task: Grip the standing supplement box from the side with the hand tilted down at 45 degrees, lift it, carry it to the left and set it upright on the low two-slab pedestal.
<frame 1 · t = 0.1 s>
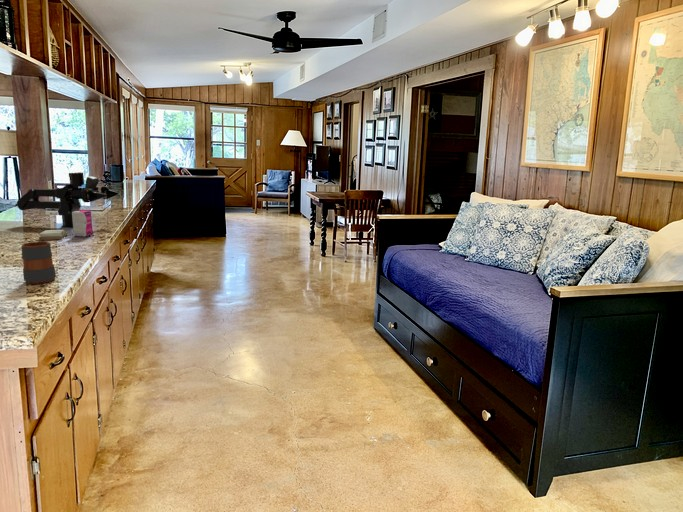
hand: (112, 194, 255), 17 cm above the counter, tool horizontal, fingers open, 9 cm apart
pedestal: (53, 238, 232), on the counter
supplement box: (83, 236, 237), on the counter
banded dark cylinder: (41, 280, 163), on the counter
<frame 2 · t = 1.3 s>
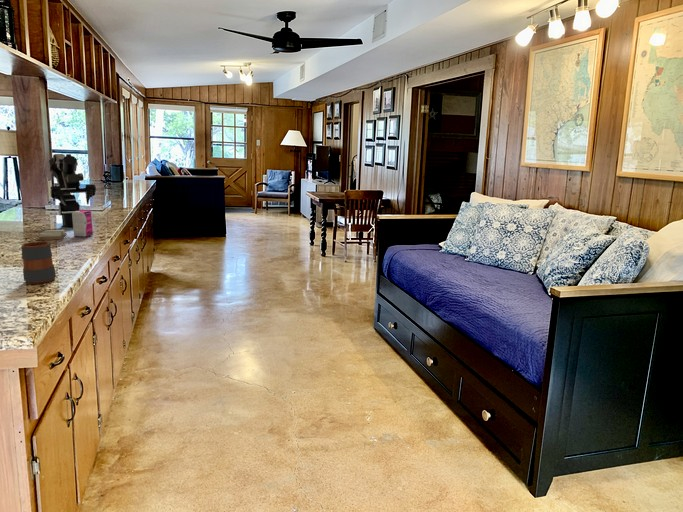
hand: (77, 204, 240), 13 cm above the counter, tool tilted 45°, fingers open, 9 cm apart
nothing on the counter moved.
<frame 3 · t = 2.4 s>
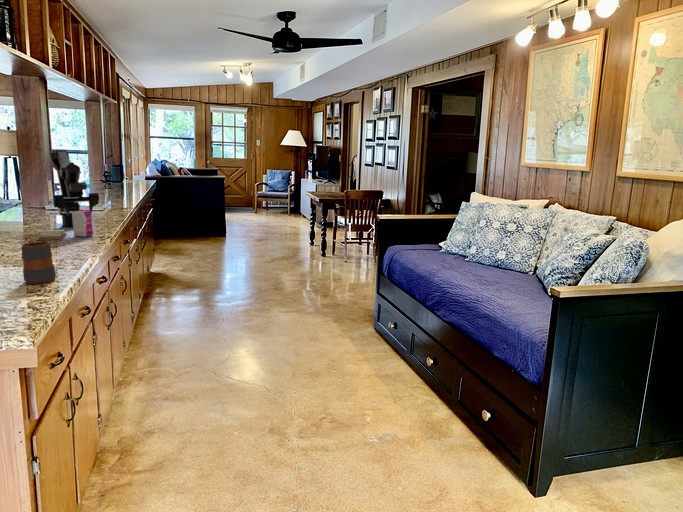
hand: (80, 214, 237), 10 cm above the counter, tool tilted 45°, fingers open, 9 cm apart
nothing on the counter moved.
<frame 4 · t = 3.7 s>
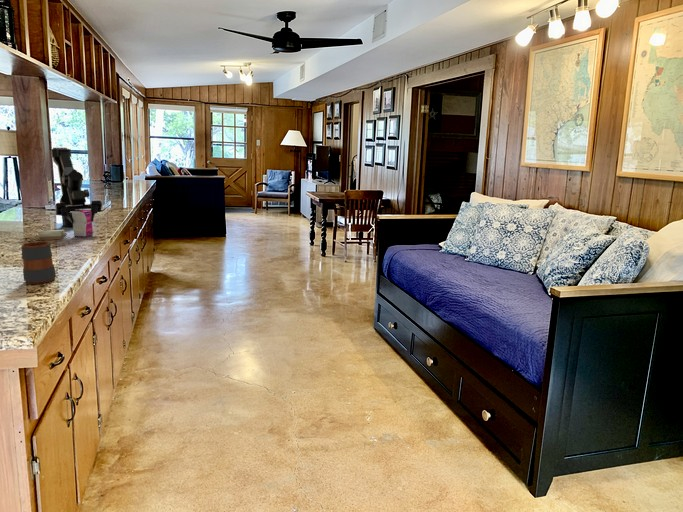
hand: (82, 222, 234), 7 cm above the counter, tool tilted 45°, fingers closed on supplement box, 8 cm apart
supplement box: (83, 236, 237), on the counter, touching gripper
everything else where it was.
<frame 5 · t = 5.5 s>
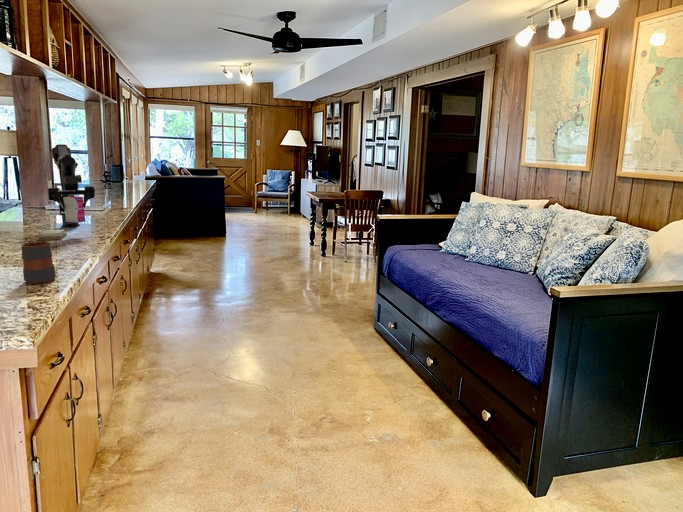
hand: (74, 207, 231), 13 cm above the counter, tool tilted 45°, fingers closed on supplement box, 8 cm apart
supplement box: (76, 222, 234), point 6 cm above the counter, touching gripper
everything else where it was.
when the fingers open (11 cm above the counter, at t = 7.3 s): supplement box drops 1 cm, resting on pedestal.
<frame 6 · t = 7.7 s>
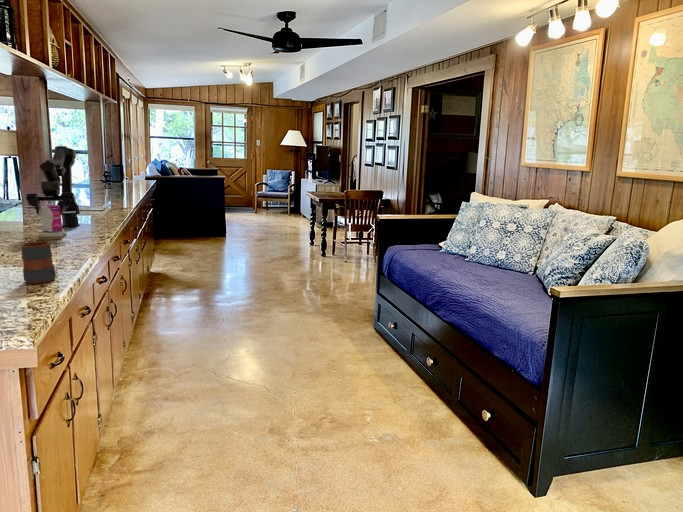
hand: (49, 213, 228), 11 cm above the counter, tool tilted 45°, fingers open, 9 cm apart
supplement box: (53, 231, 231), point 3 cm above the counter, touching pedestal
everything else where it was.
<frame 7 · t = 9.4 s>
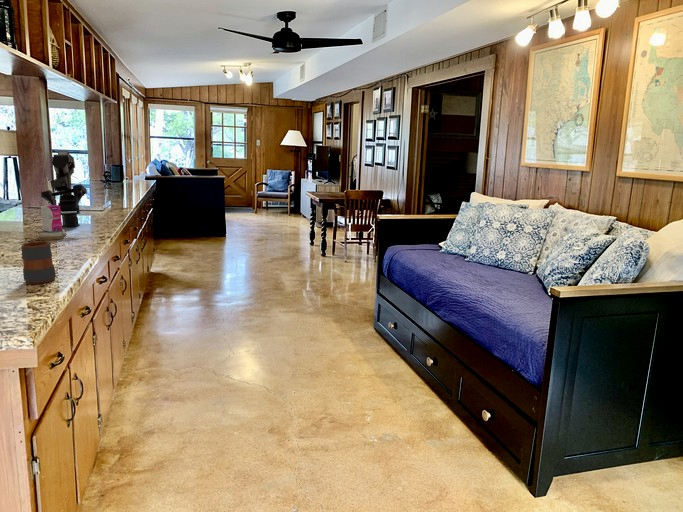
hand: (65, 209, 241), 11 cm above the counter, tool tilted 30°, fingers open, 9 cm apart
nothing on the counter moved.
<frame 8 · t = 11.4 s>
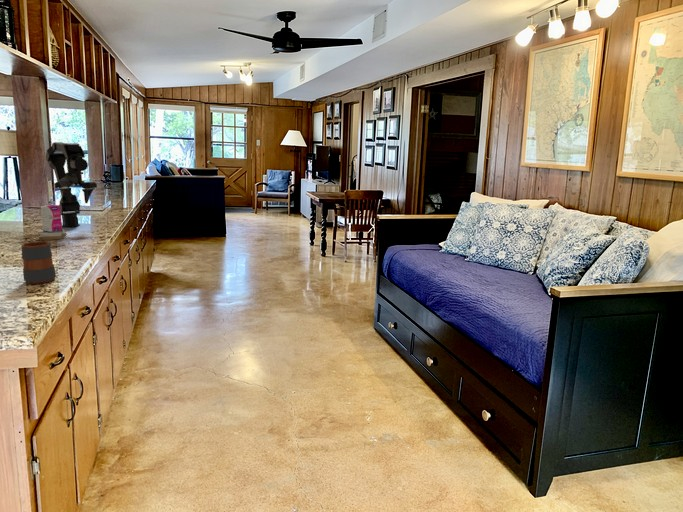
hand: (77, 203, 251), 13 cm above the counter, tool pointing down, fingers open, 9 cm apart
nothing on the counter moved.
at the end: supplement box inside the target area on the pedestal (0.3 cm from its centre), point 2.8 cm above the pedestal's base; supplement box tilted 0°; the gripper is holding nothing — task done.
